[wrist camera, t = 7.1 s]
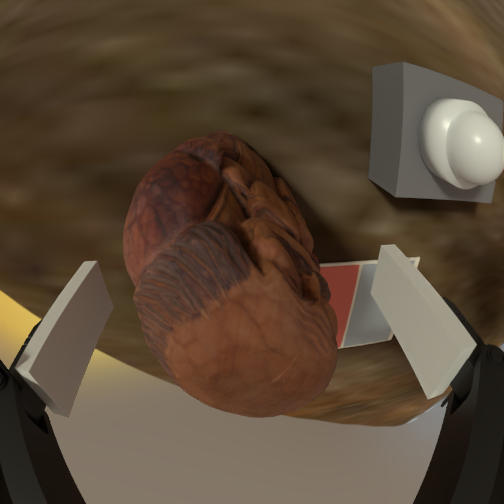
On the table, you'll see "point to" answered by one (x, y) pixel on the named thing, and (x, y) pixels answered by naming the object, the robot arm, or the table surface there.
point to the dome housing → (417, 131)
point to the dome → (461, 143)
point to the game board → (356, 302)
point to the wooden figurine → (229, 280)
